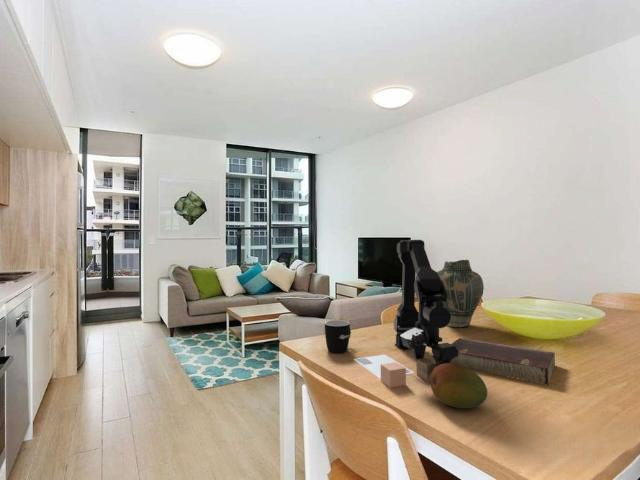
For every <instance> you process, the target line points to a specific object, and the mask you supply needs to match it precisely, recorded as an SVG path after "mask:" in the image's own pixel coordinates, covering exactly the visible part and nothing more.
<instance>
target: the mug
mask: <svg viewBox="0 0 640 480" xmlns="http://www.w3.org/2000/svg"><path fill="white" fill-rule="evenodd" d="M351 334H352V330H351V325H350V322H349V321H347V320H343V319H342V320H341V319H335V320H334V319H333V320H332V319H331V320H328V321H325V323H324V335H325V343H326V348H327V351H328V352H329V353H332V354H344V353H346V352H347V350H348V348H349V343H350V338H351Z"/></svg>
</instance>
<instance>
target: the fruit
mask: <svg viewBox="0 0 640 480" xmlns="http://www.w3.org/2000/svg"><path fill="white" fill-rule="evenodd" d="M429 384H430V387H431V391H432V393H433V394H434V397H436V399H438V400H439V401H440V402H441V403H443V404H445V405H447V406H450V407H453V408H456V409H472V408H476V407H478V406H480V405H482V404H483V403H485V401H486V400H487V398H488V388H487V385H486V384H485V381H484V380H483V379H482V378H481V377H480V375H478V374H477V373H475V371H474V370H472V369H468V368H465V367H463V366H460V365H457V364H450V363H445V364H441V365H439V366H437V367H436V368H435V369H434V370H433V371H432V373H431V378H430V381H429Z"/></svg>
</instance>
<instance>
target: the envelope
mask: <svg viewBox="0 0 640 480" xmlns="http://www.w3.org/2000/svg"><path fill="white" fill-rule="evenodd" d="M353 360H354V361H355V362H356V363H357V364H359V365H360V366H361V367H363V368H365V370H367V371H368V372H369V373H371V374H373V376H375V377H377V378H378V379H379V380H381V364H387V363H394V362H396V363H398V364H400V365H401V366H403V367H405V368H406V376H407V375H412V374H415V371H413V370H411V369H410V368H408V367H406V366H405V365H403V364H402V363H400V362H398V361H396V360H394V359H393V358H391V357H389V356H387V355H386V354H380V355H374V356H366V357H365V356H364V357H358V358H353Z"/></svg>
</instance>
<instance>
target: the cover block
mask: <svg viewBox="0 0 640 480" xmlns="http://www.w3.org/2000/svg"><path fill="white" fill-rule="evenodd" d="M396 362H397V361H396ZM396 362H394V363H387V364H381V379H380V382H381V383H383V384H384V385H385V386H387V387H388V388H389V389H390V388H391V389H392V388H396V387H402V386H403V387H404V386H406V385H407V383H406V382H407V380H406V379H407V378H406V376H407V375H406V368H407V367H406V366H404V365H403V366H404V367H403V366H401V365H402V364H401V363H399V362H398V363H399V364H398V363H396ZM400 364H401V365H400ZM405 367H406V368H405Z"/></svg>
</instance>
